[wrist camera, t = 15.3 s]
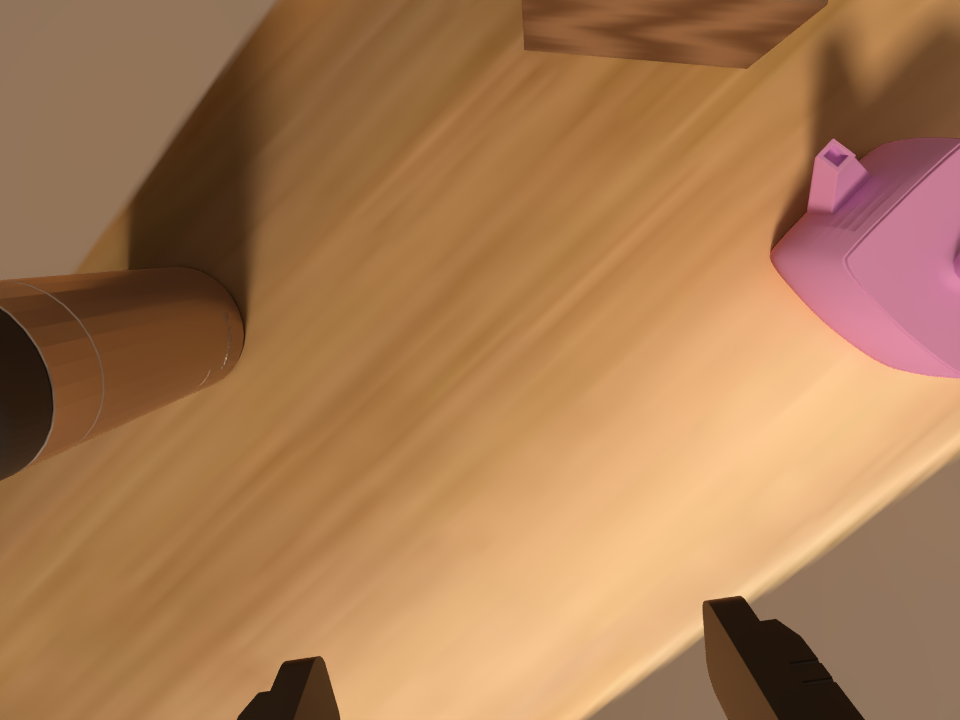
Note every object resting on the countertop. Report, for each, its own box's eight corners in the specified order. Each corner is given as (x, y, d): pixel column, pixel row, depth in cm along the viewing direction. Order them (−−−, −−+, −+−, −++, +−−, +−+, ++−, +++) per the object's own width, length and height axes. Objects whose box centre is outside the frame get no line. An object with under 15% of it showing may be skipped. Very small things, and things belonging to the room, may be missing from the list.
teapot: (709, 225, 38) (772, 220, 28) (834, 93, 35) (951, 37, 26) (900, 400, 39) (1025, 455, 29) (1032, 284, 37) (1218, 301, 27)
